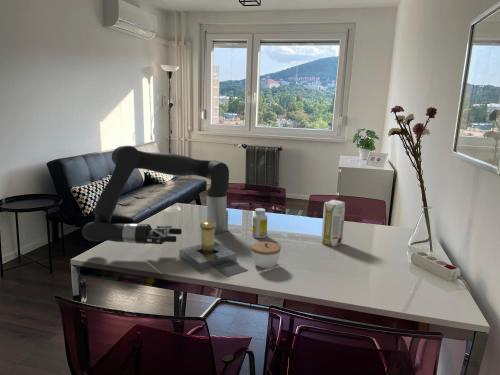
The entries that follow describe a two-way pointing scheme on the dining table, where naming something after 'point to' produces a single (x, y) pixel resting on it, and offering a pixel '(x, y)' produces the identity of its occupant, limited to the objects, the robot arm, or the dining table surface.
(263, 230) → the supplement bottle
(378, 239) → the dining table surface
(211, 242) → the brass plug
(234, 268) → the rubber mat
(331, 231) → the juice carton
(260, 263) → the lidded jar
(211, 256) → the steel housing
